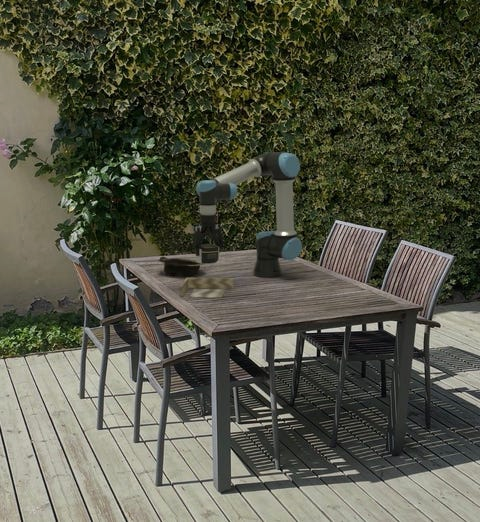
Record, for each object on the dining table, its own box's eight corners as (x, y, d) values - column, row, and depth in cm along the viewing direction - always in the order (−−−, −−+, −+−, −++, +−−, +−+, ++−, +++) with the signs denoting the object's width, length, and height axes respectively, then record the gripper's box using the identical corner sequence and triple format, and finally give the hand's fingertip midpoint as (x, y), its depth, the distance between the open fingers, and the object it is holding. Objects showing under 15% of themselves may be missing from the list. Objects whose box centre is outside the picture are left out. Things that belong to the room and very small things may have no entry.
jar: (194, 260, 351) (194, 244, 349) (213, 259, 355) (213, 243, 354) (202, 264, 342) (202, 248, 341) (222, 262, 346) (222, 246, 345)
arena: (233, 288, 362) (233, 278, 361) (229, 298, 343) (229, 287, 342) (186, 287, 364) (186, 277, 363) (179, 297, 345) (179, 286, 344)
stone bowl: (151, 276, 387) (151, 259, 386) (171, 270, 411) (171, 254, 410) (194, 279, 379) (194, 261, 378) (213, 273, 402) (213, 256, 401)
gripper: (221, 211, 354) (221, 257, 358) (183, 215, 340) (183, 263, 344) (231, 212, 348) (231, 259, 353) (193, 216, 334) (193, 265, 339)
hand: (208, 261), depth 348 cm, fingers closed on jar, 10 cm apart
